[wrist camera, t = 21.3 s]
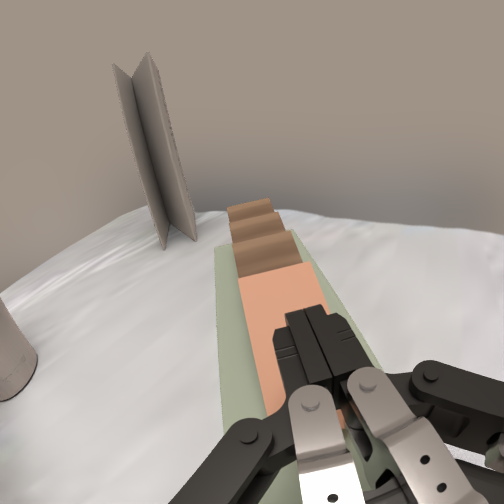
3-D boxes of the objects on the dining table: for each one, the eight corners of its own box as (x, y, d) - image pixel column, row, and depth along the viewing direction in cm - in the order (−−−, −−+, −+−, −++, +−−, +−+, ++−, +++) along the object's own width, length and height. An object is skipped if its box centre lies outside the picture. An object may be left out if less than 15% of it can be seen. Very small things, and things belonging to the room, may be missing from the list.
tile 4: (296, 273, 26) (268, 197, 33) (243, 286, 26) (226, 207, 33) (296, 285, 27) (270, 210, 34) (246, 297, 27) (229, 219, 34)
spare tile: (367, 419, 12) (309, 260, 19) (274, 447, 12) (237, 278, 19) (359, 423, 13) (309, 277, 21) (276, 447, 13) (242, 294, 20)
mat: (446, 499, 7) (450, 497, 7) (242, 564, 7) (239, 565, 7) (293, 232, 39) (292, 229, 39) (215, 250, 39) (214, 247, 39)
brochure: (197, 241, 43) (148, 51, 30) (163, 250, 43) (112, 64, 29) (194, 214, 56) (158, 70, 42) (168, 221, 55) (130, 79, 42)
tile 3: (313, 307, 21) (278, 211, 28) (249, 323, 21) (228, 223, 28) (312, 318, 23) (279, 225, 30) (253, 333, 23) (232, 236, 30)
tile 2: (336, 353, 17) (290, 230, 24) (259, 373, 17) (231, 244, 24) (332, 361, 18) (290, 245, 25) (262, 380, 18) (235, 258, 25)
